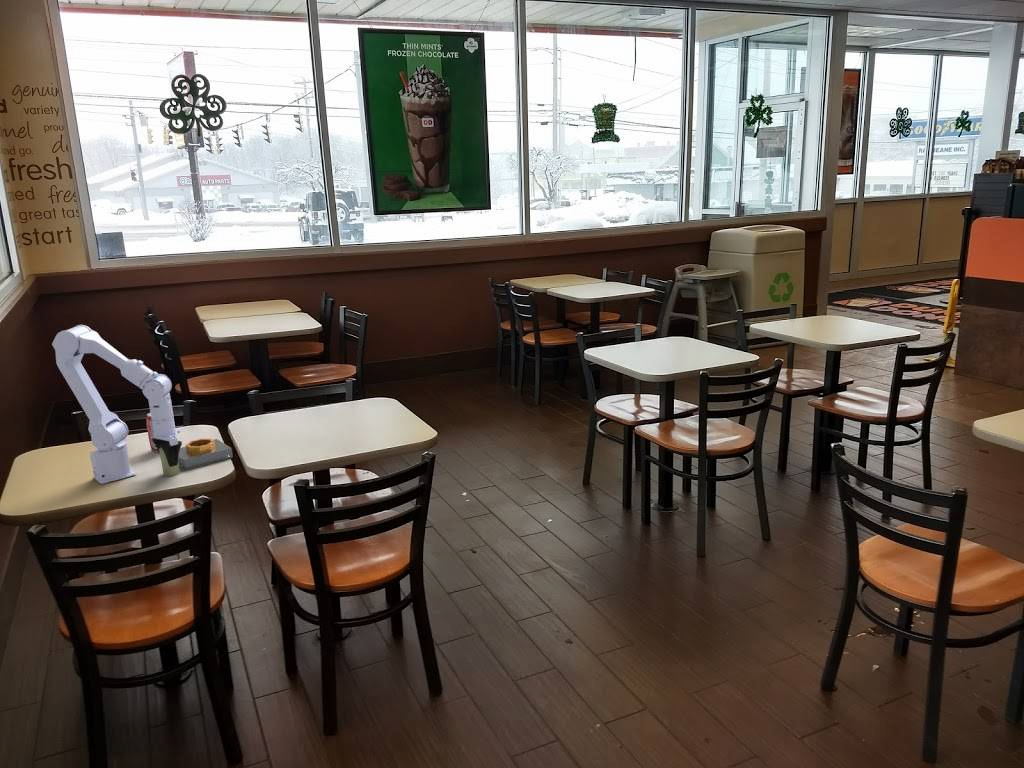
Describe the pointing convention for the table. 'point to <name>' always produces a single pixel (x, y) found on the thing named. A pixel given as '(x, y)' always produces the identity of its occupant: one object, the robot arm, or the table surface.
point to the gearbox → (203, 453)
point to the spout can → (166, 468)
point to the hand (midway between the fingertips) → (170, 463)
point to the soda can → (150, 432)
